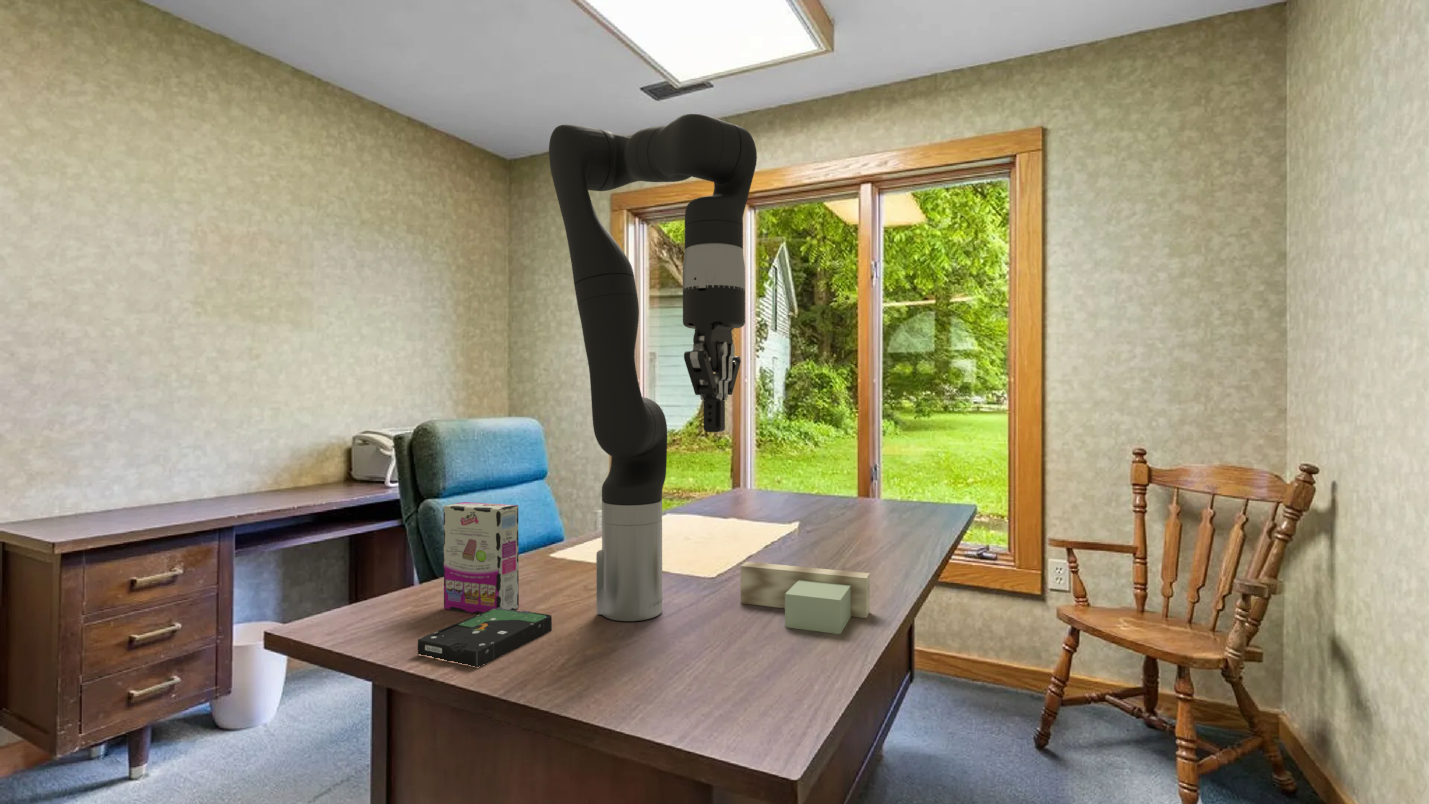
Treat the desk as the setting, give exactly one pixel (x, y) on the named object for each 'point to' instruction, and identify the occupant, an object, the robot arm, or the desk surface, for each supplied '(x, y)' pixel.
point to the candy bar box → (480, 557)
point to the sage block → (818, 606)
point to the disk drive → (485, 636)
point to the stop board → (775, 580)
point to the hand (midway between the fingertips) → (714, 431)
